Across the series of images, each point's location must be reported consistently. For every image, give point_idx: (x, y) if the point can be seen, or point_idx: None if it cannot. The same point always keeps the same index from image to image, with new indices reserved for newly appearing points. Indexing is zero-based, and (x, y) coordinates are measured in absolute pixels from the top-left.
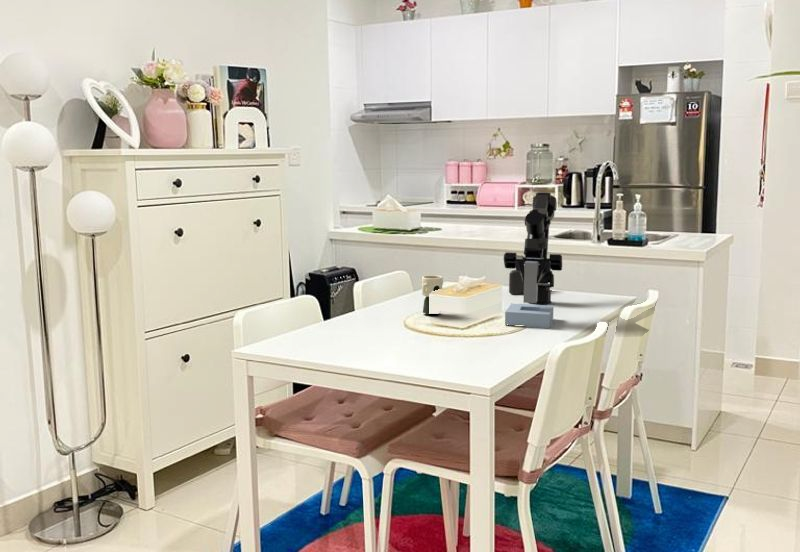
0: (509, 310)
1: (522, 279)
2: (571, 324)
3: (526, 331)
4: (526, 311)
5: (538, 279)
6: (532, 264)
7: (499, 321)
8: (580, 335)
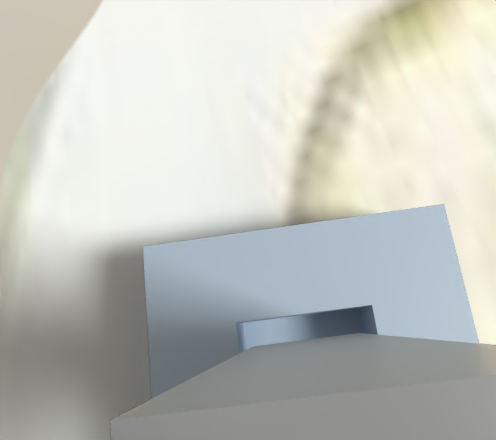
0: (434, 260)
1: None
2: (64, 415)
3: (266, 149)
4: (309, 275)
5: None
6: (294, 384)
7: (490, 325)
8: (8, 177)
